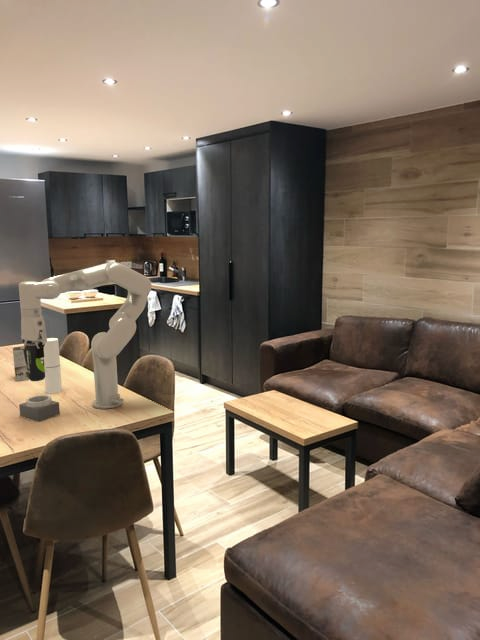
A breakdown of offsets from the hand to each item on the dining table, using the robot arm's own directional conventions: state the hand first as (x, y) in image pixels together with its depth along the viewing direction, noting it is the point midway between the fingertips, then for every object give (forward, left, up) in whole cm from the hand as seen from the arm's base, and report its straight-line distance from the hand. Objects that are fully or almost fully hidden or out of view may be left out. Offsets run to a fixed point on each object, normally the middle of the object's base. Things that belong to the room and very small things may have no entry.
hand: (35, 356), depth 200 cm
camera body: (0, 0, -25) cm, 25 cm away
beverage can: (0, 0, -10) cm, 10 cm away
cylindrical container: (+22, -23, -25) cm, 41 cm away
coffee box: (+55, -29, -25) cm, 67 cm away
